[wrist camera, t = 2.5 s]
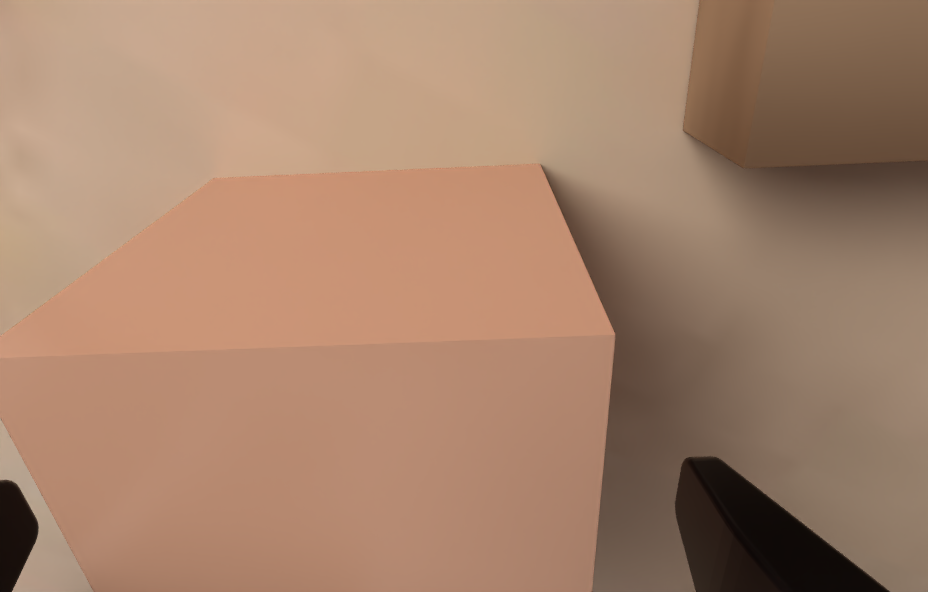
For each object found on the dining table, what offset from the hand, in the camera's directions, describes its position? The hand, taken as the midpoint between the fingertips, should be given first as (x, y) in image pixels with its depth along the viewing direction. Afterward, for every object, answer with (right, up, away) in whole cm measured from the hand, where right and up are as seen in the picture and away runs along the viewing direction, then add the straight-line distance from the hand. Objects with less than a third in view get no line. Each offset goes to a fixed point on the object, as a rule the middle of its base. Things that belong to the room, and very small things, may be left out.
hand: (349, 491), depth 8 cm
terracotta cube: (0, +2, +4) cm, 5 cm away
